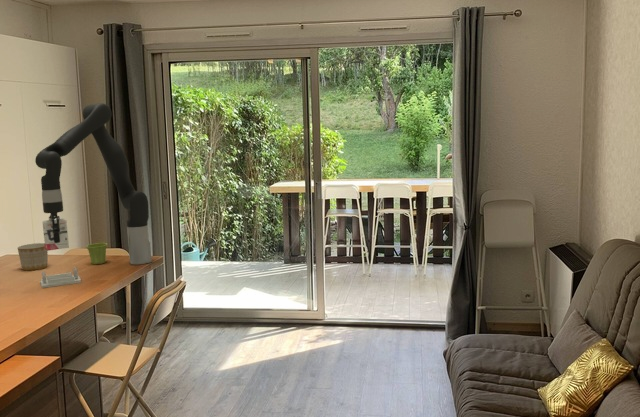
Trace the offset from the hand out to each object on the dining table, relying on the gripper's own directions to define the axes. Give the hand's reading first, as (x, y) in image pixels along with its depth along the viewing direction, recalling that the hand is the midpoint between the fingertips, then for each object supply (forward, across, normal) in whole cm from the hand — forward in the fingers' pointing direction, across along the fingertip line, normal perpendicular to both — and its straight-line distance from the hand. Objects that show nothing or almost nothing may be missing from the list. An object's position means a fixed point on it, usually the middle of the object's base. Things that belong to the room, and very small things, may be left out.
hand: (56, 241), depth 268 cm
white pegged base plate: (+17, 0, 0) cm, 17 cm away
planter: (+18, +38, +8) cm, 43 cm away
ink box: (+3, 0, 0) cm, 3 cm away
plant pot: (+17, +30, -19) cm, 40 cm away
